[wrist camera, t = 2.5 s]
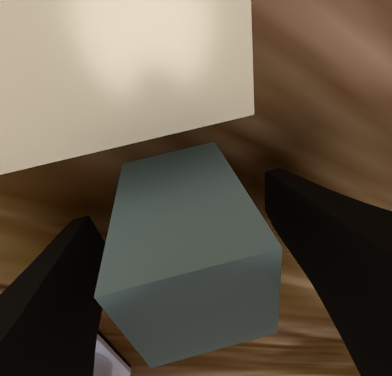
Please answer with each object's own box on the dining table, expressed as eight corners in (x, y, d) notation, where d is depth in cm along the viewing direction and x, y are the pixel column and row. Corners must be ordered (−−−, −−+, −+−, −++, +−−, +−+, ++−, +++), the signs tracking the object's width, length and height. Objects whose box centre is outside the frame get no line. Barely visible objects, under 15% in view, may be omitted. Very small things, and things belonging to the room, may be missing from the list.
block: (150, 230, 12) (150, 368, 7) (122, 163, 10) (93, 297, 5) (224, 211, 12) (277, 332, 7) (214, 141, 10) (282, 247, 5)
